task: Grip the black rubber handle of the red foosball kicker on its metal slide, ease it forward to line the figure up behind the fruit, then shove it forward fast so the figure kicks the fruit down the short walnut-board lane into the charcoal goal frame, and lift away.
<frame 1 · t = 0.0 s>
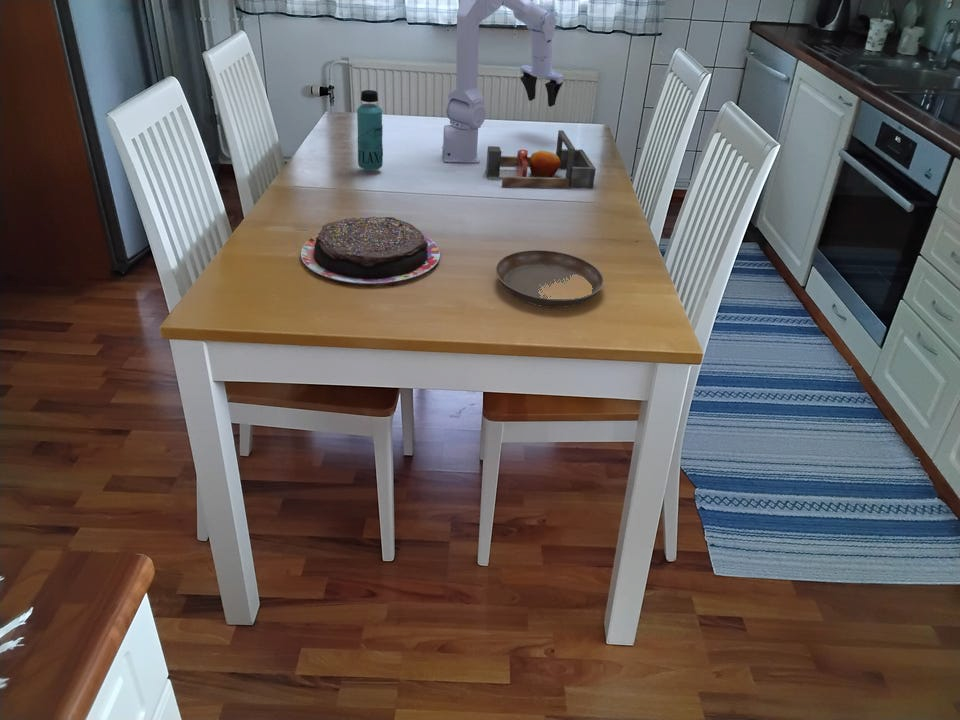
hand: (541, 102, 220), 11 cm above the table, tool pointing down, fingers open, 7 cm apart
beverage bottle: (370, 172, 193), on the table
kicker: (507, 162, 194), point 4 cm above the table, slide at 0.0 cm
chocolate cake: (371, 258, 152), on the table
fruit: (543, 177, 198), on the table
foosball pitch: (532, 176, 197), on the table
plant saucer: (547, 288, 145), on the table
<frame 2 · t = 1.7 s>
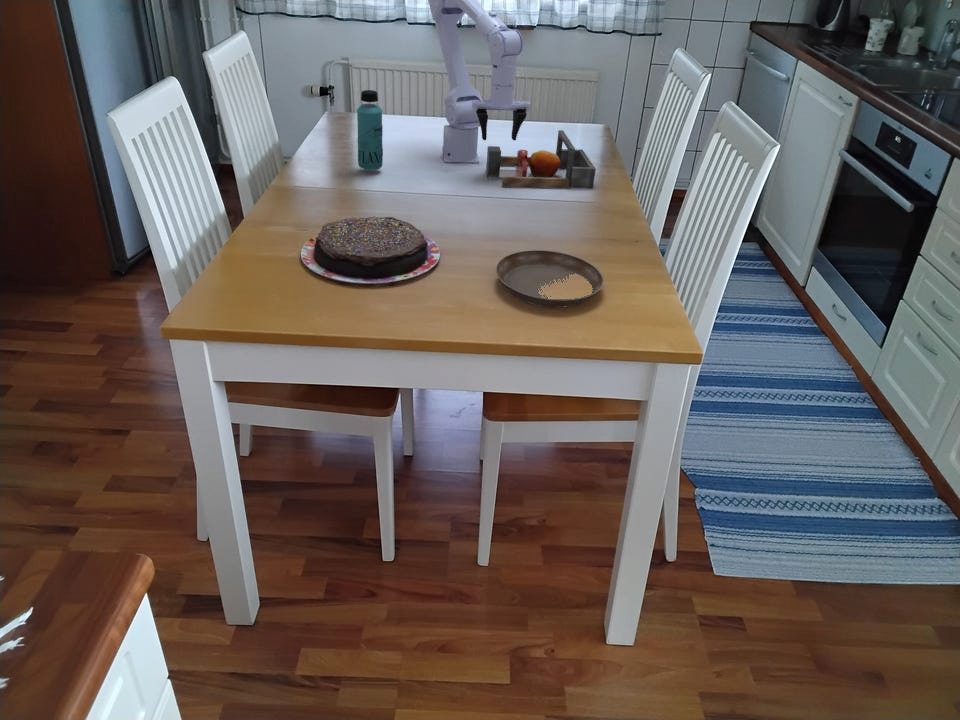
hand: (498, 139, 191), 9 cm above the table, tool pointing down, fingers open, 7 cm apart
nothing on the table moved.
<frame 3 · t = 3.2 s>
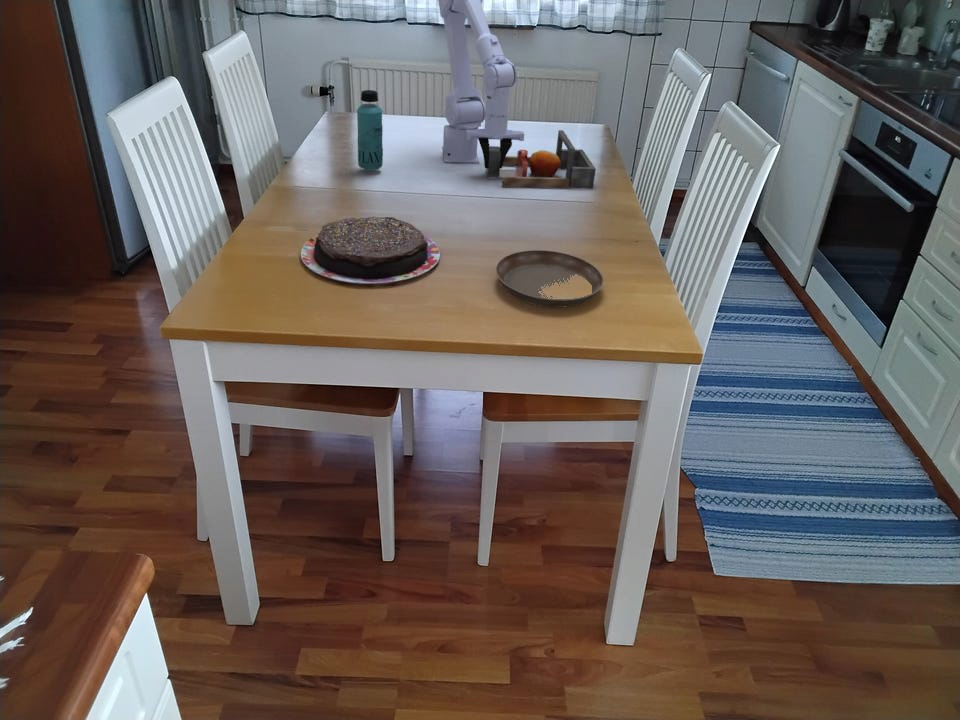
hand: (493, 167, 195), 2 cm above the table, tool pointing down, fingers closed on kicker, 3 cm apart
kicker: (507, 162, 194), point 4 cm above the table, slide at 0.0 cm, touching gripper
everything else where it was.
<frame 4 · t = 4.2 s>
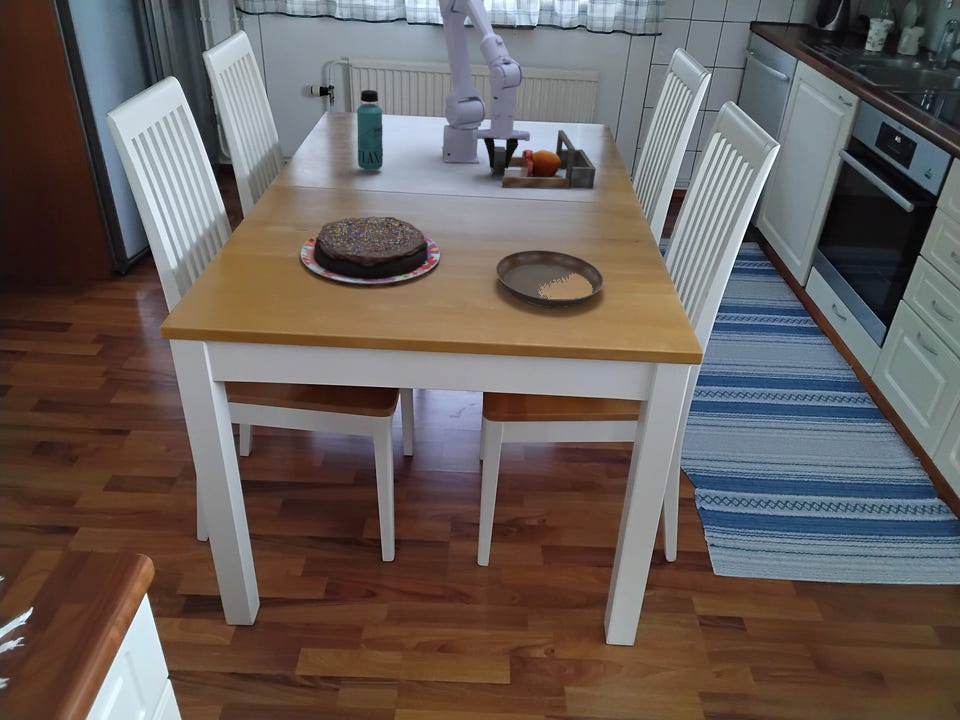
hand: (498, 167, 195), 2 cm above the table, tool pointing down, fingers open, 3 cm apart
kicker: (512, 162, 194), point 4 cm above the table, slide at 1.3 cm, touching fruit, gripper
fruit: (543, 177, 198), on the table, touching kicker
everything else where it was.
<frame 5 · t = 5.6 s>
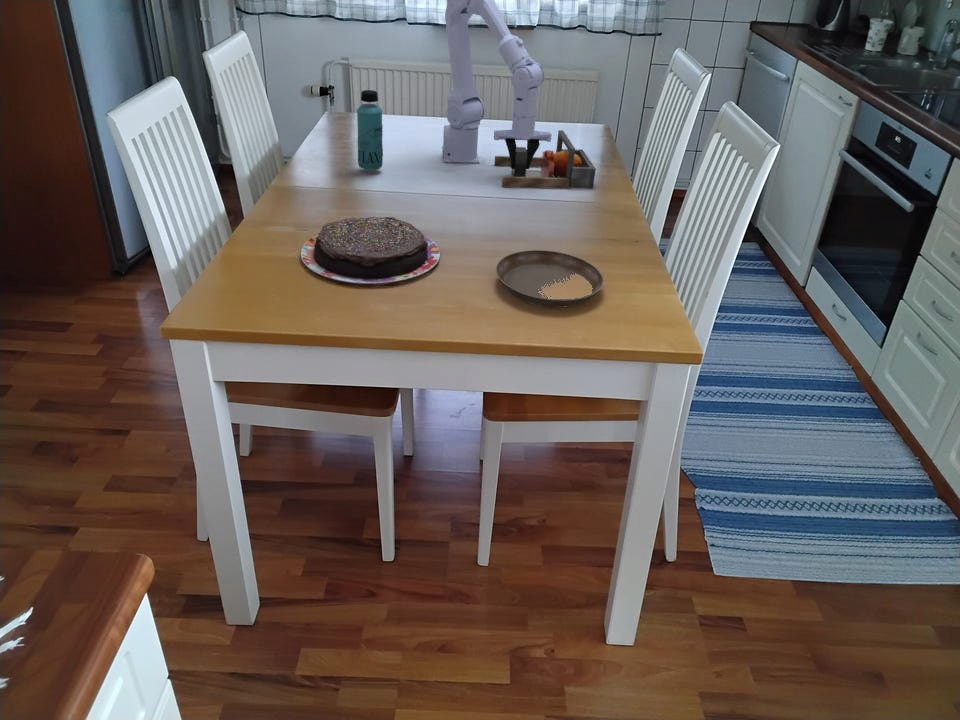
hand: (519, 167, 195), 2 cm above the table, tool pointing down, fingers open, 3 cm apart
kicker: (533, 163, 195), point 4 cm above the table, slide at 6.8 cm, touching fruit, gripper
fruit: (564, 177, 198), on the table, touching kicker
everything else where it was.
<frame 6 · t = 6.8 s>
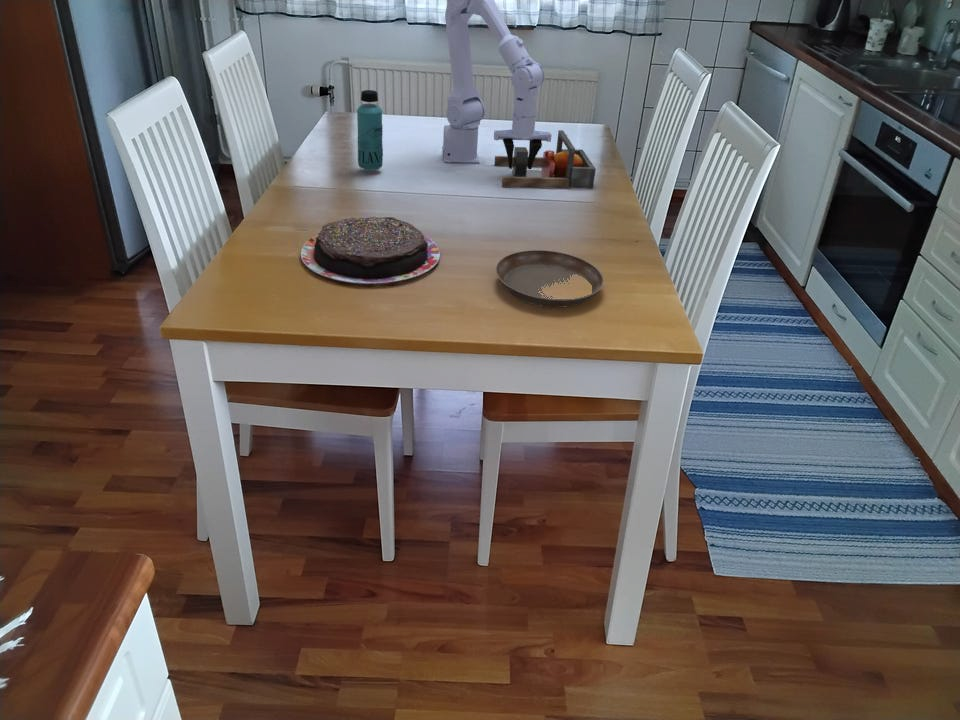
hand: (519, 167, 195), 2 cm above the table, tool pointing down, fingers open, 4 cm apart
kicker: (533, 163, 195), point 4 cm above the table, slide at 7.0 cm
fruit: (565, 178, 198), on the table
everything else where it was.
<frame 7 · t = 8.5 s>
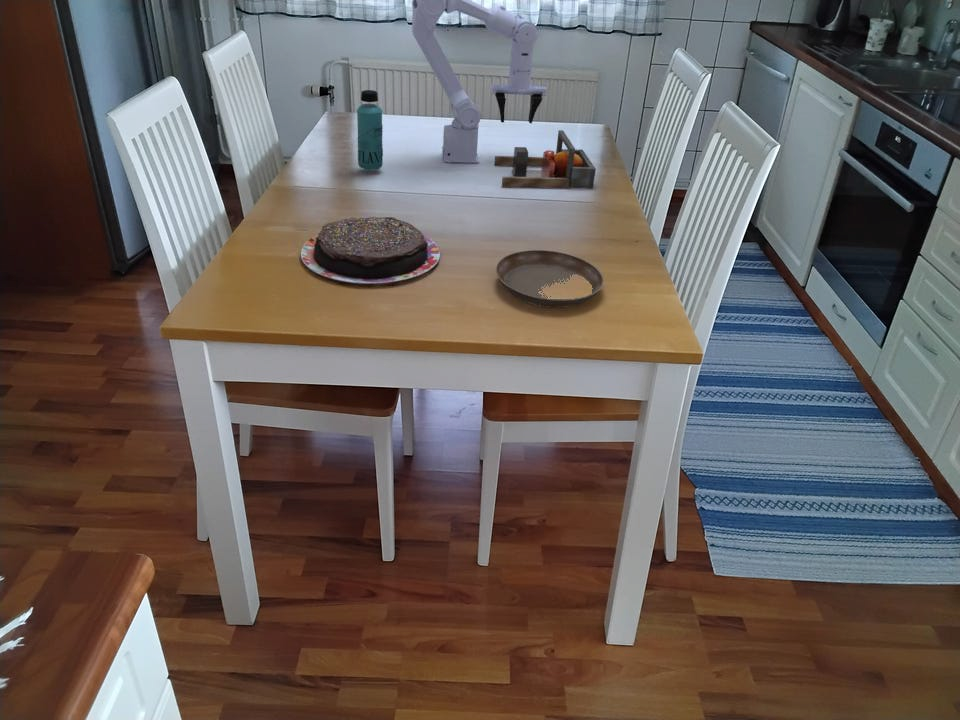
hand: (516, 121, 203), 10 cm above the table, tool pointing down, fingers open, 7 cm apart
nothing on the table moved.
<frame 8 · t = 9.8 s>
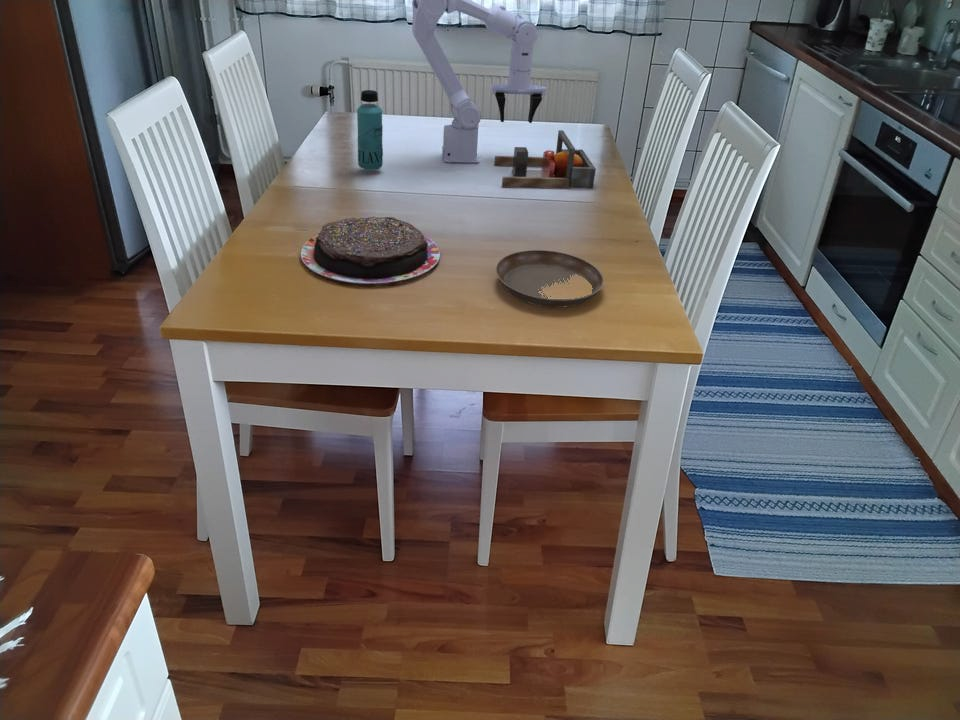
hand: (516, 121, 204), 10 cm above the table, tool pointing down, fingers open, 7 cm apart
nothing on the table moved.
at the end: fruit inside the target area (2.4 cm from its centre), on the table; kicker slide at 7.0 cm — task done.
